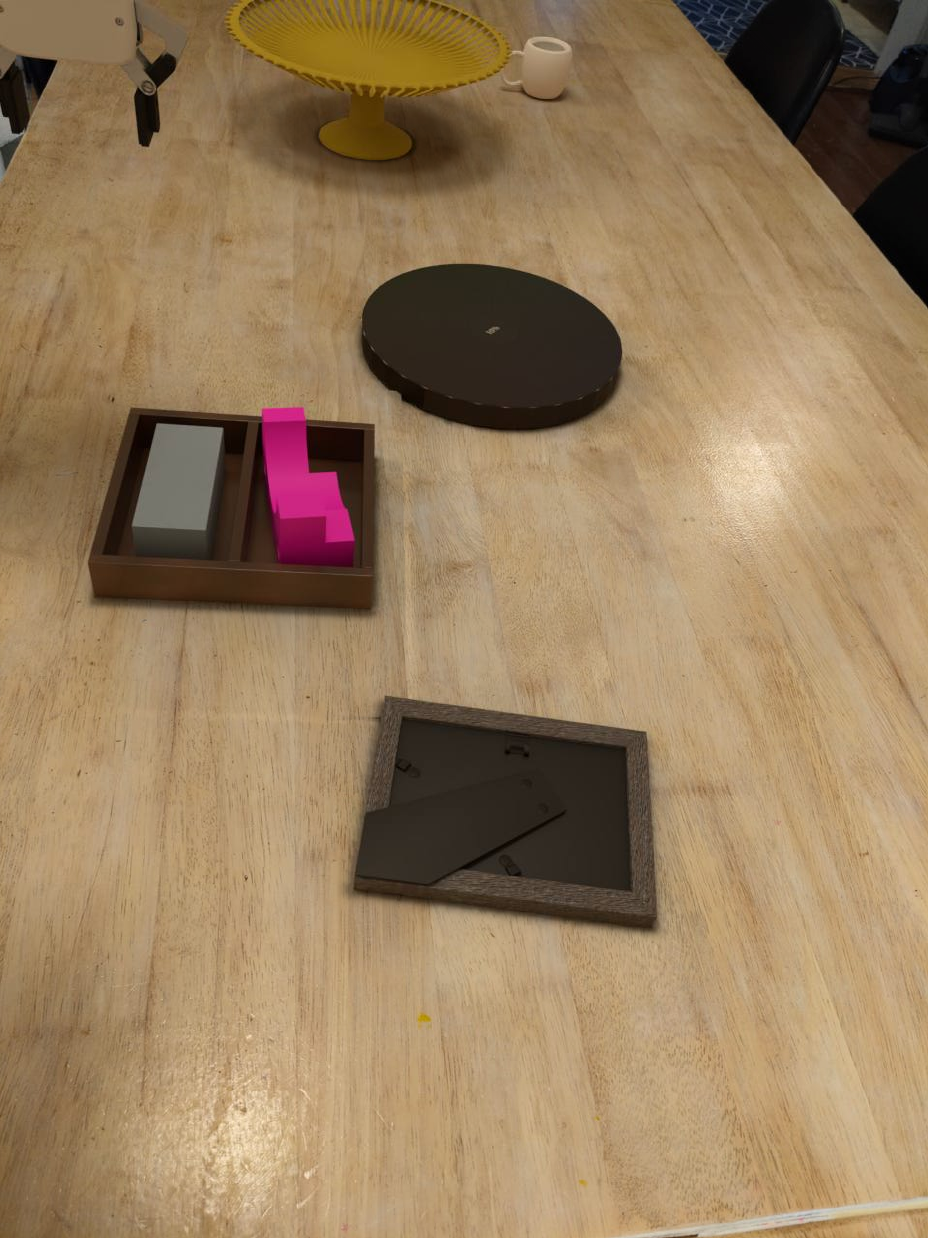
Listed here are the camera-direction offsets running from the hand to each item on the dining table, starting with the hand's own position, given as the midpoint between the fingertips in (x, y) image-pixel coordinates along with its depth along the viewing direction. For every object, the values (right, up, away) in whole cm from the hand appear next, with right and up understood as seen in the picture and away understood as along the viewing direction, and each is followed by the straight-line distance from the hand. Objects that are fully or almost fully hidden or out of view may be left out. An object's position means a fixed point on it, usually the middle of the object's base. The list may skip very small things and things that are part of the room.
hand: (84, 133), depth 82 cm
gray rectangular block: (+5, -29, +12) cm, 32 cm away
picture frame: (+34, -53, -5) cm, 63 cm away
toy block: (+16, -30, +13) cm, 36 cm away
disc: (+33, -8, +38) cm, 51 cm away
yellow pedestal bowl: (+15, +33, +73) cm, 82 cm away
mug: (+42, +51, +94) cm, 115 cm away
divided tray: (+10, -30, +13) cm, 34 cm away
